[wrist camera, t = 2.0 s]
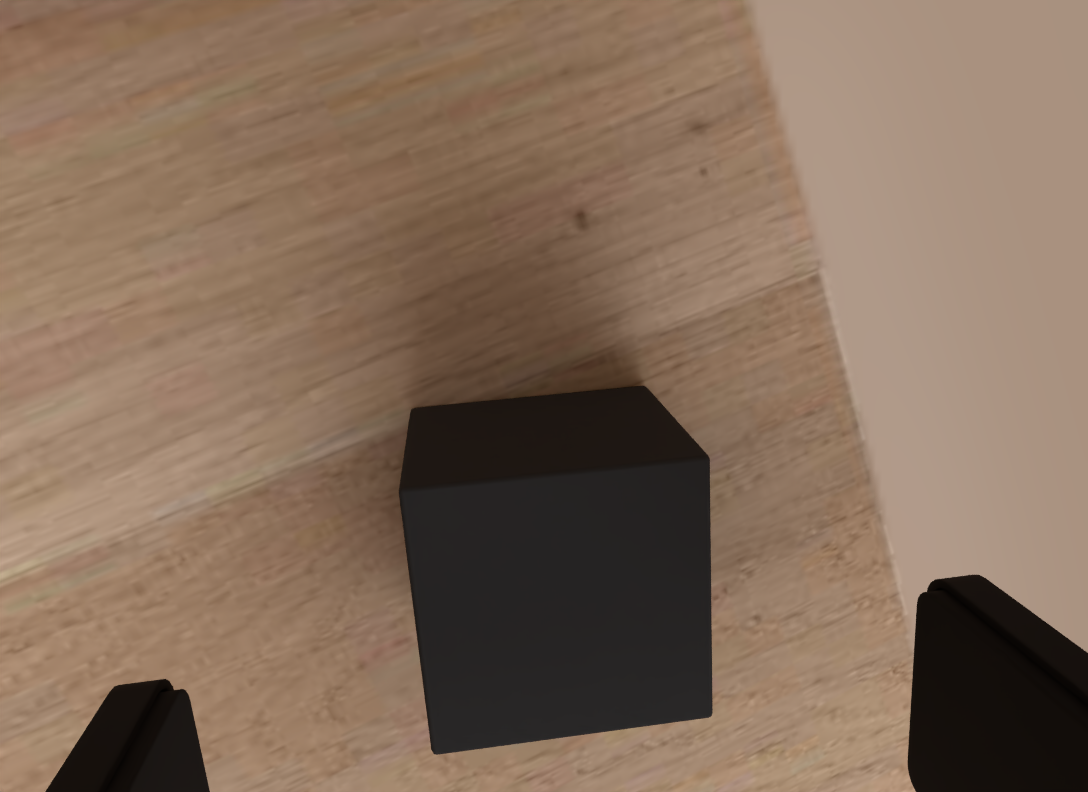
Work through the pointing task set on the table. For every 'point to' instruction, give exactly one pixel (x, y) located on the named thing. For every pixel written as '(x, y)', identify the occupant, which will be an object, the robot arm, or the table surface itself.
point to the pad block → (557, 566)
